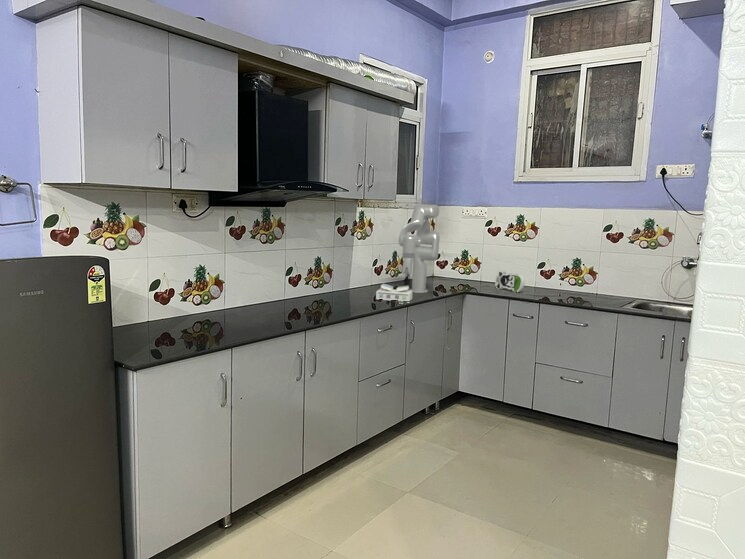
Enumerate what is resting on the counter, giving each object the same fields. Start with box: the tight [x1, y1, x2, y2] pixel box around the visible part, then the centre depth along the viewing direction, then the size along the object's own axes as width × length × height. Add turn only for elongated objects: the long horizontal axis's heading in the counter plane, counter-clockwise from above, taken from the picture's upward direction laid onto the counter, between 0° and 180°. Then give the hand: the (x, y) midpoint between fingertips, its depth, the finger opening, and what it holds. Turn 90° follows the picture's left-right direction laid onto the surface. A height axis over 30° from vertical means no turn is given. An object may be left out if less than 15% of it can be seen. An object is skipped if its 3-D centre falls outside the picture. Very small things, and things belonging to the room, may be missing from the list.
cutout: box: [494, 270, 525, 293], centre depth 404 cm, size 15×3×25 cm
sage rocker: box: [396, 285, 410, 291], centre depth 349 cm, size 6×7×2 cm
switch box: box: [375, 287, 414, 302], centre depth 350 cm, size 13×21×6 cm, turn 78°
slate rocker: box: [380, 283, 394, 291], centre depth 351 cm, size 6×7×2 cm
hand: (406, 285), depth 348 cm, fingers closed
